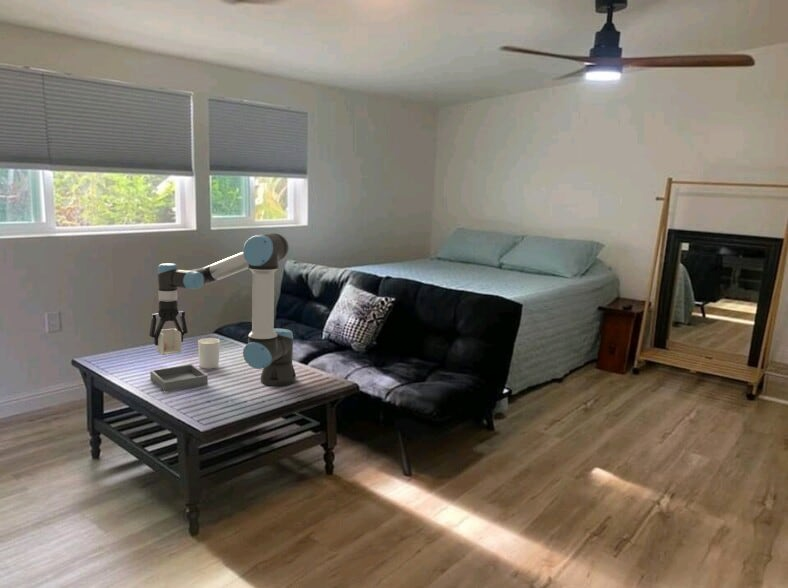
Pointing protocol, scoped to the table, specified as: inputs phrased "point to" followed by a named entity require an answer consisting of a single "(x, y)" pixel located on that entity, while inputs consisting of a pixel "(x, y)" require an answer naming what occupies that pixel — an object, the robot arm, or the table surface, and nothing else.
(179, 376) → the tray
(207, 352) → the candle holder
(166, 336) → the cream open-top bin
